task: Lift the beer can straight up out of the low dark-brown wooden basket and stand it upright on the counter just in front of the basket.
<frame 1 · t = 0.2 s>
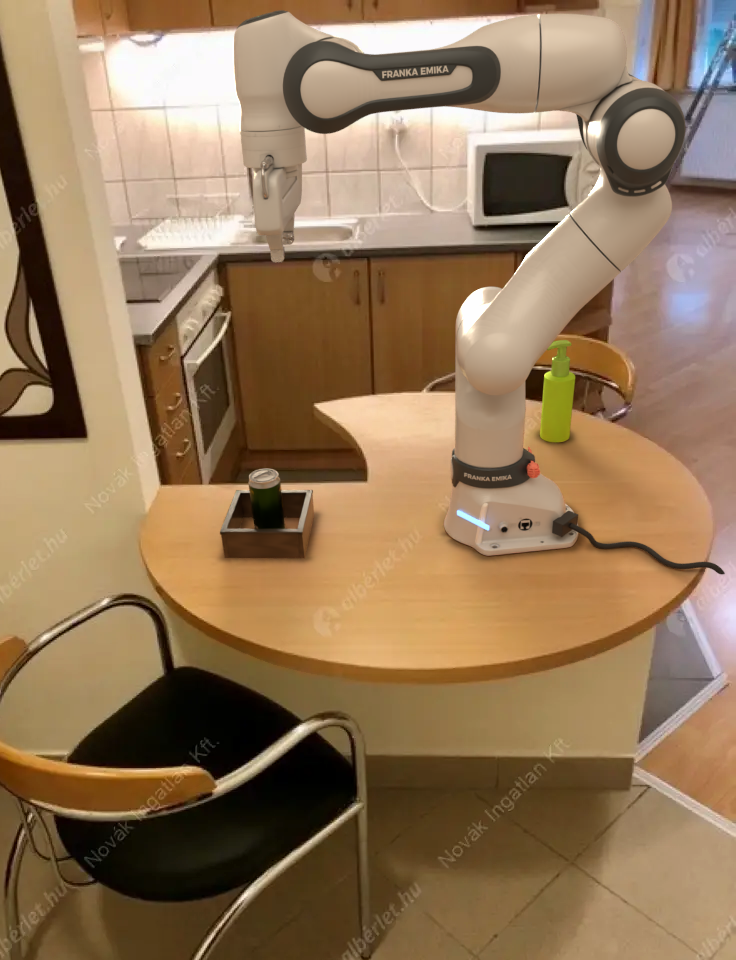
hand: (283, 252, 125), 47 cm above the table, tool pointing down, fingers open, 8 cm apart
beer can: (271, 537, 149), resting in basket
basket: (270, 536, 149), on the table
soap dispenser: (552, 437, 174), on the table
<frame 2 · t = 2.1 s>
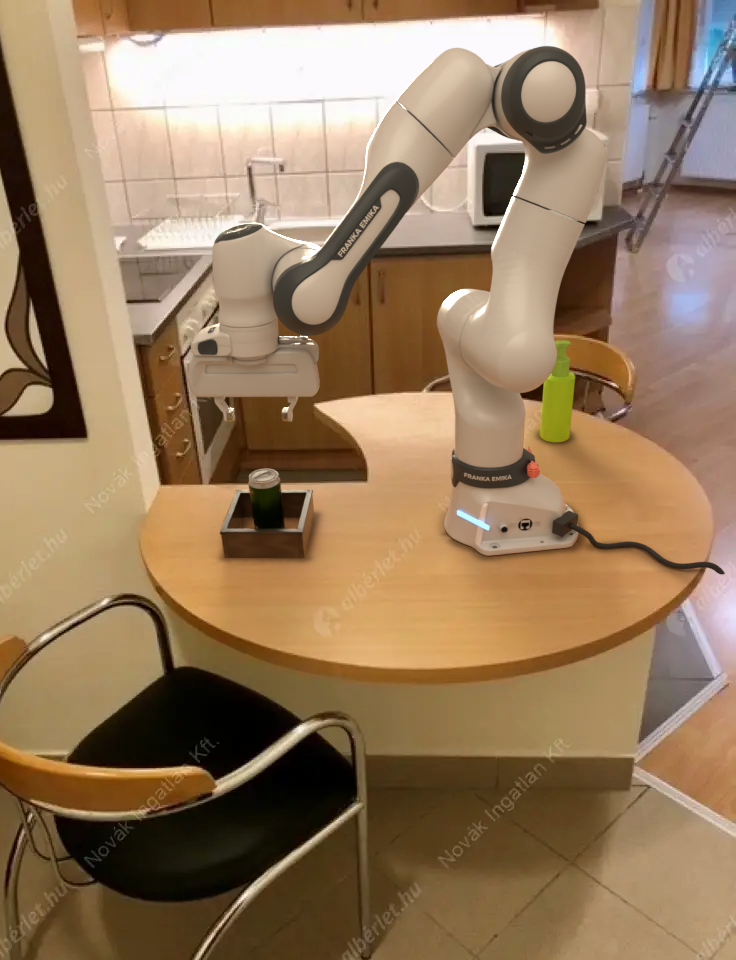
hand: (258, 420, 137), 22 cm above the table, tool pointing down, fingers open, 8 cm apart
nothing on the table moved.
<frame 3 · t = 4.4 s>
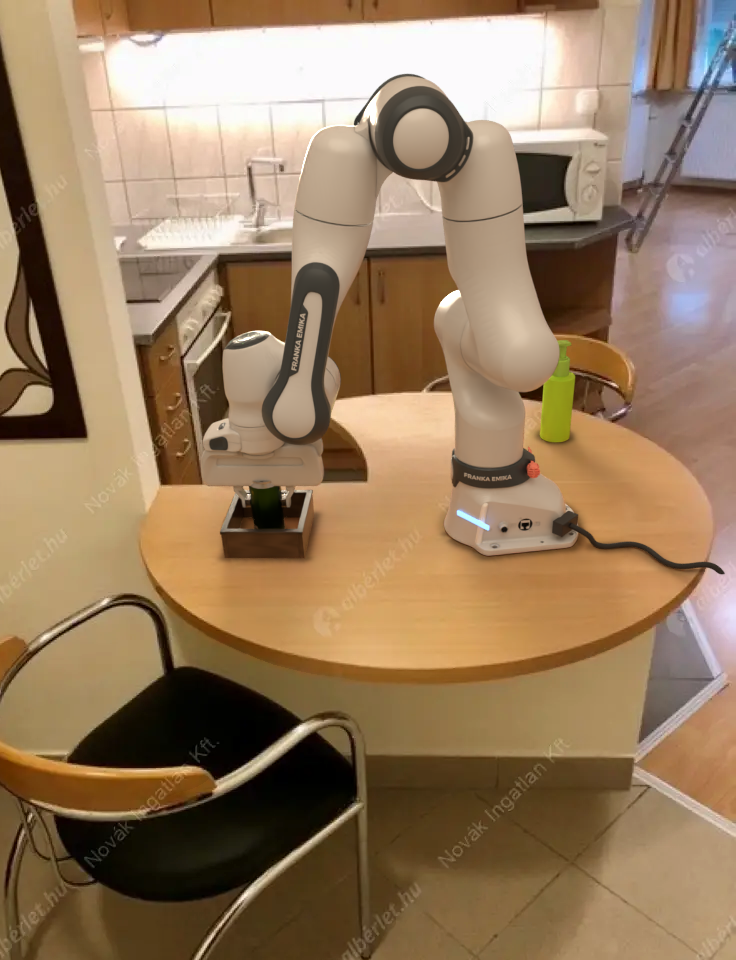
hand: (266, 505, 145), 6 cm above the table, tool pointing down, fingers closed on beer can, 5 cm apart
beer can: (270, 536, 149), resting in basket, touching gripper
everything else where it was.
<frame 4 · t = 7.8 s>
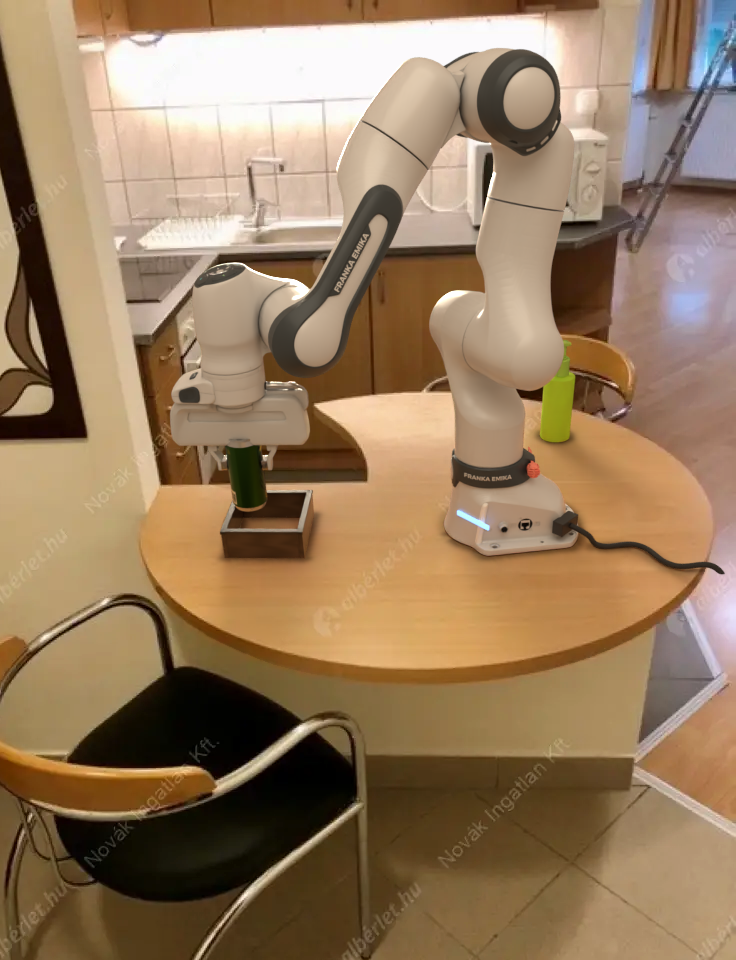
hand: (245, 468, 129), 19 cm above the table, tool pointing down, fingers closed on beer can, 5 cm apart
beer can: (250, 504, 132), point 13 cm above the table, touching gripper
everything else where it was.
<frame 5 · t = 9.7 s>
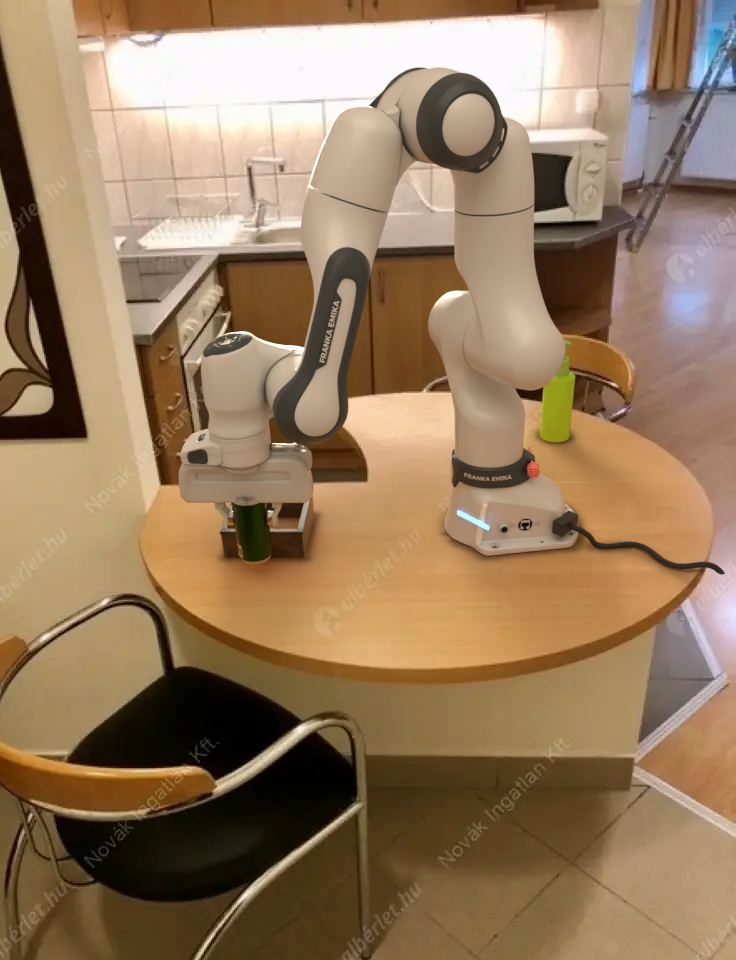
hand: (251, 523, 133), 10 cm above the table, tool pointing down, fingers closed on beer can, 5 cm apart
beer can: (256, 557, 137), point 4 cm above the table, touching gripper
everything else where it was.
when the fingers open (6 cm above the table, at t = 11.2 s): beer can stays where it is, on the table.
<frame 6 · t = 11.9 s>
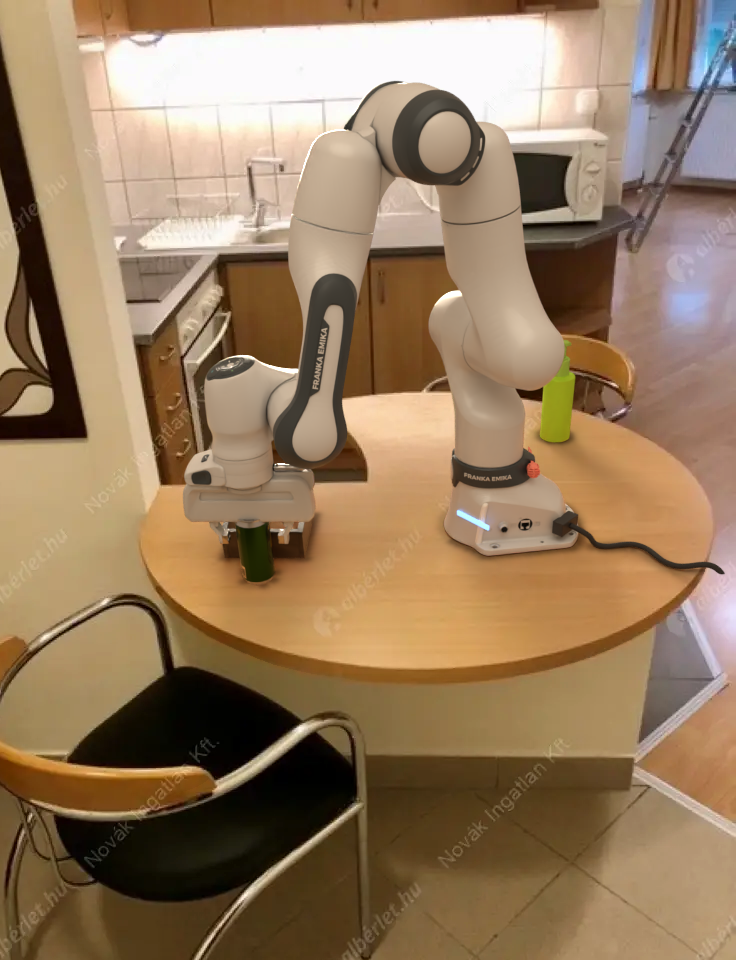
hand: (254, 541, 135), 7 cm above the table, tool pointing down, fingers open, 8 cm apart
beer can: (259, 577, 139), on the table
everything else where it was.
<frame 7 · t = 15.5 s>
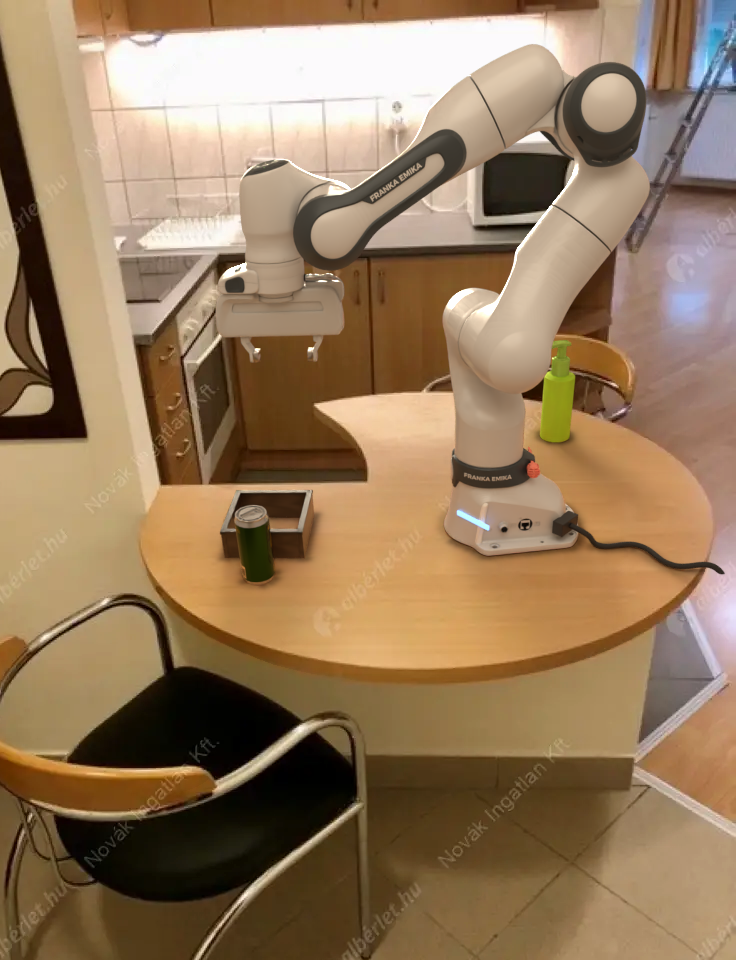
hand: (284, 360, 139), 29 cm above the table, tool pointing down, fingers open, 8 cm apart
nothing on the table moved.
at the end: beer can inside the target area (0.3 cm from its centre), on the table; beer can tilted 0°; the gripper is holding nothing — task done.
